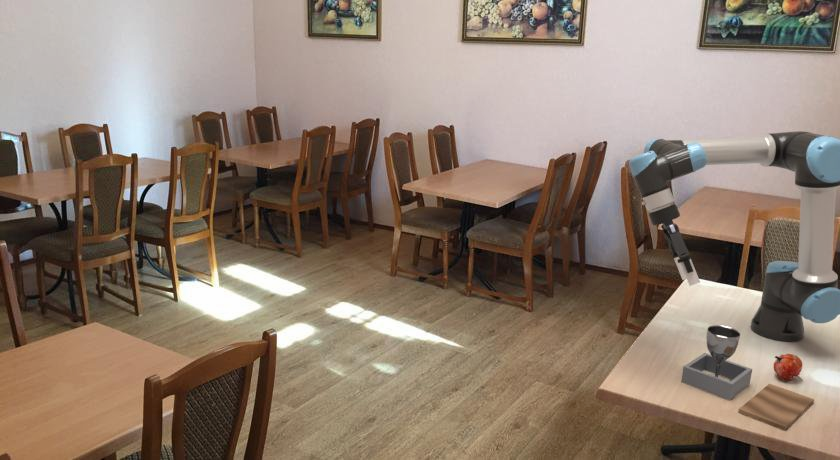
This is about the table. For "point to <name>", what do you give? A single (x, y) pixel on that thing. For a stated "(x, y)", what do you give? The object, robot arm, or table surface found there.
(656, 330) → the table surface
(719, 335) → the wine glass
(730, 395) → the square frame
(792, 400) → the board
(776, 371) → the pomegranate
